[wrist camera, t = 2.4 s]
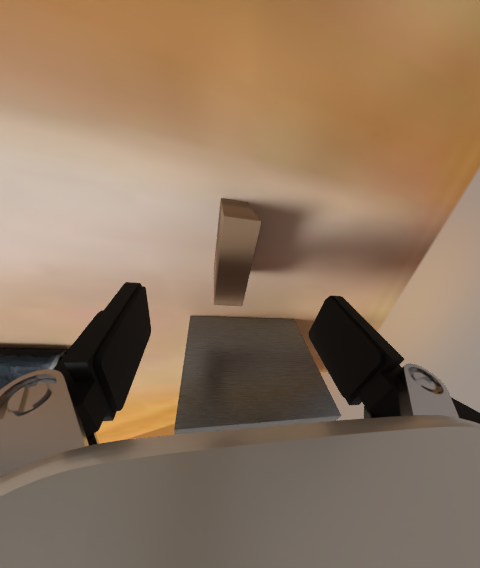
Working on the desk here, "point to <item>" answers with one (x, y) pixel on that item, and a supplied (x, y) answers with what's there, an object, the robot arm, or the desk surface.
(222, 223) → the block
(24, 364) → the electronic device
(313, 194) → the desk surface
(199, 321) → the slot box
